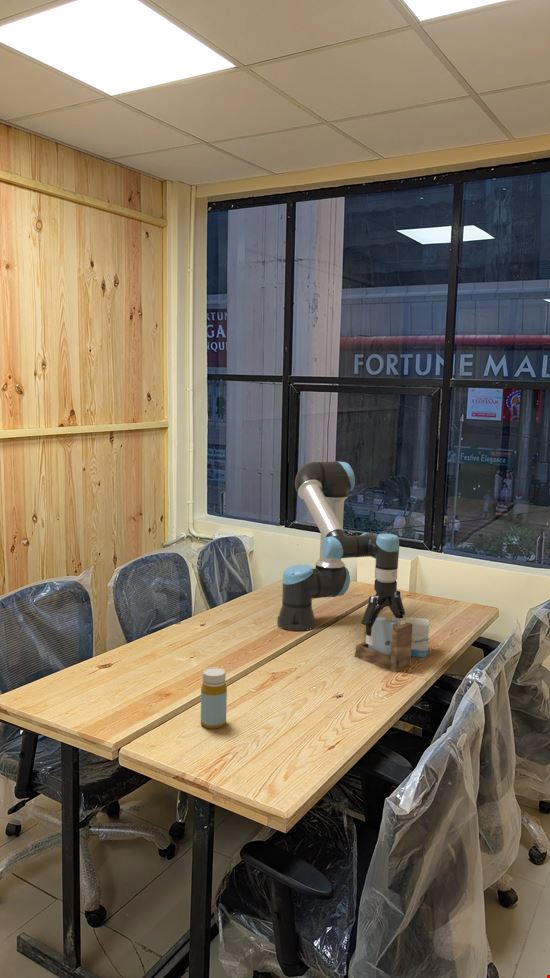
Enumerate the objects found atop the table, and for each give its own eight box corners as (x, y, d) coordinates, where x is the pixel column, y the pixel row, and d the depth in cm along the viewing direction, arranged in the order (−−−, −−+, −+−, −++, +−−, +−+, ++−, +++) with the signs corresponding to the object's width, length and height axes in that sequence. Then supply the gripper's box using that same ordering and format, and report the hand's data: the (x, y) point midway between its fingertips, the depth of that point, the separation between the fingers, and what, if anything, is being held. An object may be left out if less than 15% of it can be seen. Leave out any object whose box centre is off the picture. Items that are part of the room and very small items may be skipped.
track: (354, 656, 248) (356, 615, 246) (369, 651, 253) (371, 610, 251) (395, 672, 235) (397, 628, 233) (410, 666, 240) (412, 624, 238)
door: (366, 656, 246) (367, 617, 244) (373, 653, 248) (375, 615, 247) (388, 664, 238) (390, 624, 237) (396, 662, 241) (398, 622, 239)
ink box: (427, 658, 248) (429, 626, 247) (402, 655, 250) (404, 623, 248) (427, 649, 257) (429, 618, 255) (403, 647, 258) (405, 616, 257)
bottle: (200, 718, 198) (201, 666, 196) (225, 717, 198) (226, 666, 196) (200, 729, 191) (201, 676, 189) (226, 729, 192) (227, 676, 190)
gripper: (370, 588, 229) (367, 651, 232) (417, 576, 246) (413, 635, 248) (352, 583, 235) (349, 644, 237) (400, 571, 251) (396, 629, 254)
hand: (382, 640), depth 243 cm, fingers open, 13 cm apart
